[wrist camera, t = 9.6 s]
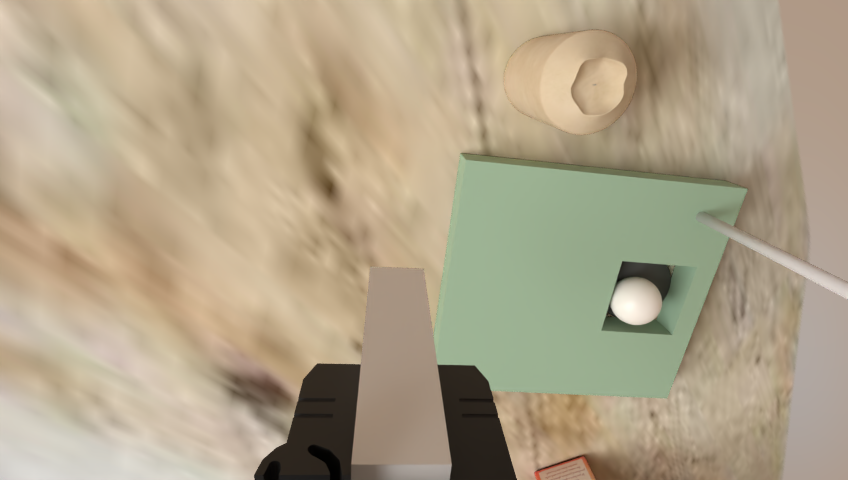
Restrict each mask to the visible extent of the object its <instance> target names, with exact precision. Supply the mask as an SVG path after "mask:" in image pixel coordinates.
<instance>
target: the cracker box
mask: <svg viewBox="0 0 848 480" xmlns="http://www.w3.org/2000/svg"><path fill="white" fill-rule="evenodd" d="M535 476H536V479H537V480H596V479H595V477H594V474H593V472H592V470H591V468H590V466H589V464H588V462H587V460H586V459H585V457H584V456H582V457H579V458H576V459H573V460H570V461H567V462H564V463H561V464H558V465H555V466H552V467H548V468H545V469H542V470H539V471H536V472H535Z"/></svg>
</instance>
